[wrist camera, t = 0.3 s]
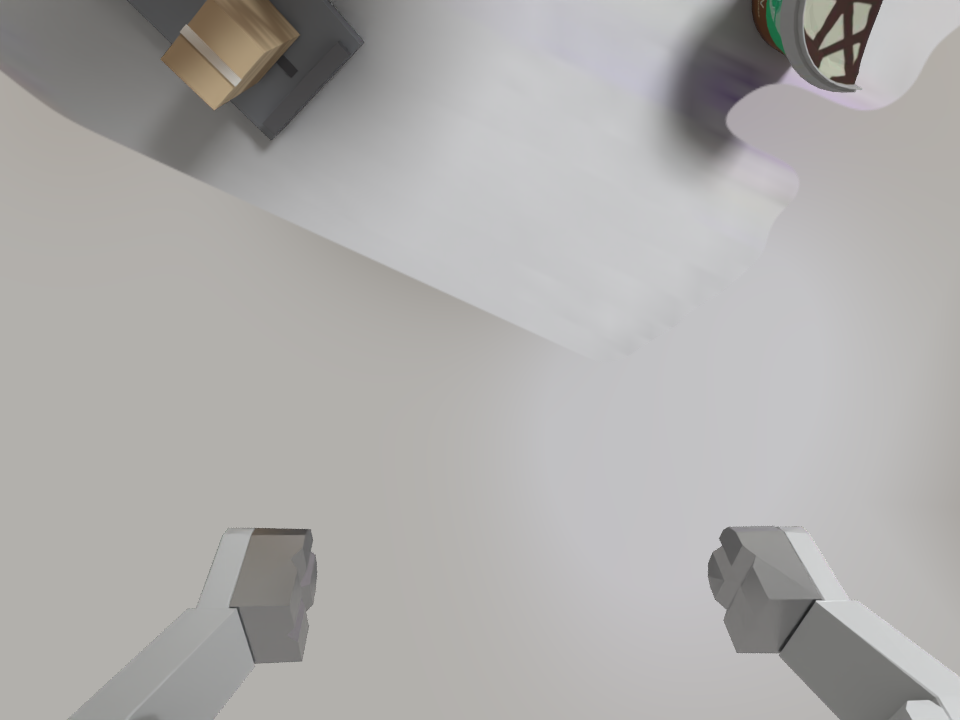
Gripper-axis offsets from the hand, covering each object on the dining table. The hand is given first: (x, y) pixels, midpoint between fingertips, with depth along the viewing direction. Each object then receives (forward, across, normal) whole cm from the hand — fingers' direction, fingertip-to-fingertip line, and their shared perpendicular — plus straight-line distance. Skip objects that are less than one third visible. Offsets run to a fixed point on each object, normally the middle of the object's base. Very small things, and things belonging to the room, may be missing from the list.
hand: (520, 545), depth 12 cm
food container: (+47, -24, -7) cm, 53 cm away
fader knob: (+45, +16, -2) cm, 48 cm away
